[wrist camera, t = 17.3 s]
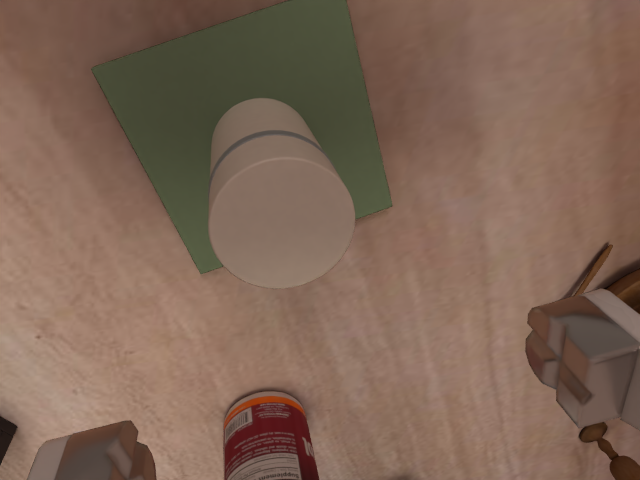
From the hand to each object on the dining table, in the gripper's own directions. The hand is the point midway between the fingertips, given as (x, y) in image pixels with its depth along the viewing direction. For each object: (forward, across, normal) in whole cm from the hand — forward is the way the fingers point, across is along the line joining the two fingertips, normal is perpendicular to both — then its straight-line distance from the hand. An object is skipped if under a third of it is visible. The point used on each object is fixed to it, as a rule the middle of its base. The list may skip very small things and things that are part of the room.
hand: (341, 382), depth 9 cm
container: (+17, 0, 0) cm, 17 cm away
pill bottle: (+18, +5, +21) cm, 28 cm away
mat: (+17, 0, 0) cm, 17 cm away
